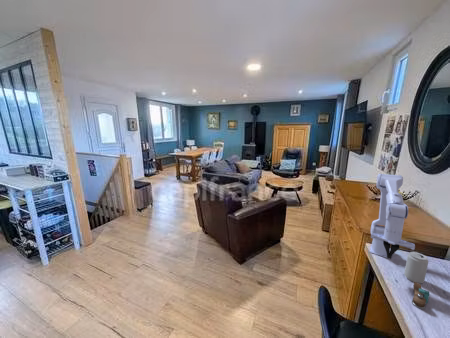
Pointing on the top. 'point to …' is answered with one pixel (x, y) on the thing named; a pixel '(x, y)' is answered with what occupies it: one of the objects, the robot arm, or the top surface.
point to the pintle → (415, 304)
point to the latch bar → (416, 299)
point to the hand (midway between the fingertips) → (388, 257)
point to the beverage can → (416, 267)
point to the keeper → (425, 294)
